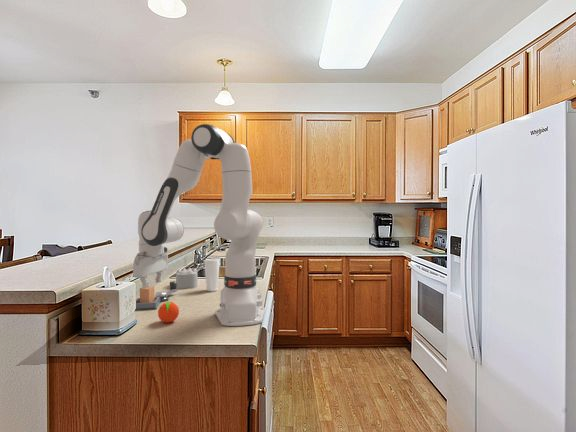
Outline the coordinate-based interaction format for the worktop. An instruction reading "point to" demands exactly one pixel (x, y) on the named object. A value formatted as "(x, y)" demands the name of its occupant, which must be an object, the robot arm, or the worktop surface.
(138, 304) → the tray
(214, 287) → the drinking glass
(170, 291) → the crank
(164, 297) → the crank base
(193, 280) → the grey animal paw
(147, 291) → the block
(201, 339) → the worktop surface
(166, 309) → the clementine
